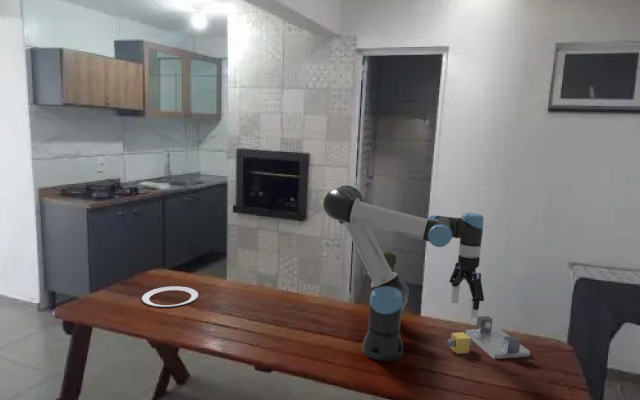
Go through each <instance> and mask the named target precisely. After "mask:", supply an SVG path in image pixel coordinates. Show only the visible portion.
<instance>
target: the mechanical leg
mask: <svg viewBox="0 0 640 400" xmlns="http://www.w3.org/2000/svg"><path fill="white" fill-rule="evenodd" d="M383 255H384V257H385V259H386V261H387V263H388V265H389V267H390V269H391V271H392V272H395V265H396V261H397V254H395V253H393V251H383Z"/></svg>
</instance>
